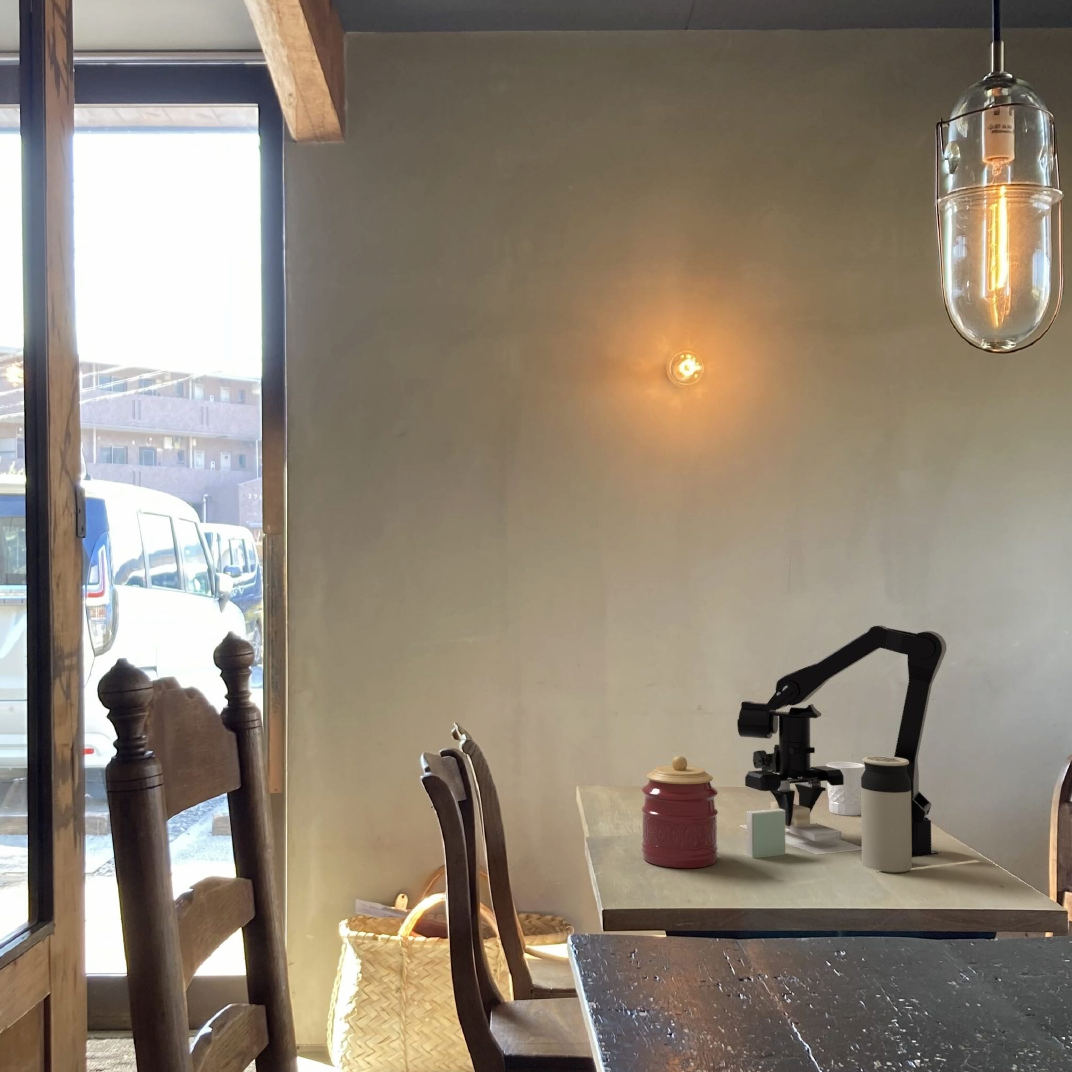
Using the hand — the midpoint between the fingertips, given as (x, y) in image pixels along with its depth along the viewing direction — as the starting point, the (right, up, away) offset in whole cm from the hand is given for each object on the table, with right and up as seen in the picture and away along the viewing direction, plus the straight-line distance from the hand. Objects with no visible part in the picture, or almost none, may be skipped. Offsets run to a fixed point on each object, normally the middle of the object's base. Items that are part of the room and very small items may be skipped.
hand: (795, 824), depth 192 cm
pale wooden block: (+1, -1, -2) cm, 2 cm away
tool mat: (+1, -3, 0) cm, 3 cm away
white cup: (+17, -4, +24) cm, 30 cm away
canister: (-24, -2, -16) cm, 29 cm away
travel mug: (+10, -2, -20) cm, 22 cm away
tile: (-8, -2, -13) cm, 16 cm away
